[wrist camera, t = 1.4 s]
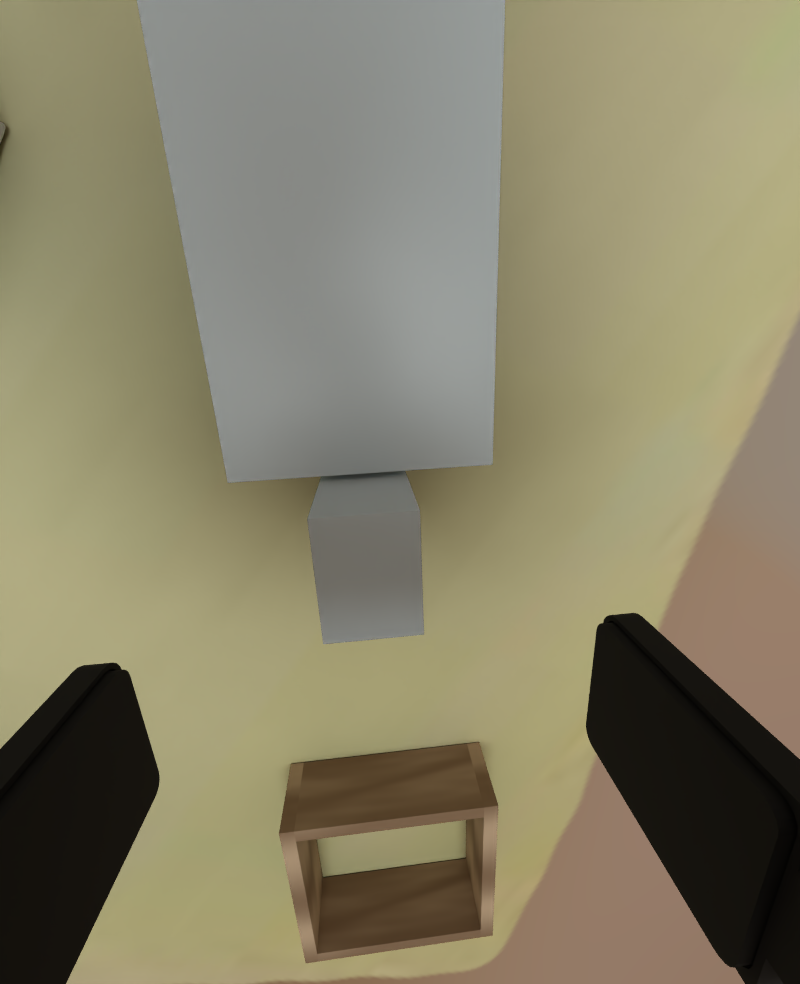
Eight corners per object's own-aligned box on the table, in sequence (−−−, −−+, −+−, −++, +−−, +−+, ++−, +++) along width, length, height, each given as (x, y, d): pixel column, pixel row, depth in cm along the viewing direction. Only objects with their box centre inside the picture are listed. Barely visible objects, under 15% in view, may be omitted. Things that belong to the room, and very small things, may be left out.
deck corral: (291, 764, 26) (279, 833, 22) (478, 742, 27) (498, 805, 23) (312, 886, 30) (305, 963, 26) (476, 864, 31) (492, 935, 27)
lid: (151, -9, 11) (13, -247, 6) (491, -5, 11) (570, -220, 7) (256, 575, 16) (219, 654, 12) (480, 556, 17) (521, 625, 13)
